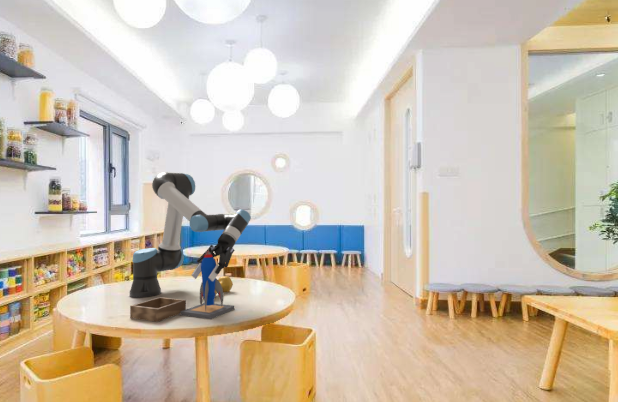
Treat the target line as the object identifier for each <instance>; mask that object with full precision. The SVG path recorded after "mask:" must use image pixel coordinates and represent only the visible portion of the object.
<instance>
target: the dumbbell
mask: <svg viewBox="0 0 618 402" xmlns="http://www.w3.org/2000/svg"><path fill="white" fill-rule="evenodd" d="M217 280H218V281H219V282H220V284H221V286H222V289H223V293H229V292H230V291H231V290H232V288H233V285H234V284H233V280H232V278H231V277H230V276H229V275H228V276H227V275H223V276H220V277H219V278H217ZM217 295H218V293H217V291H216V290H215V297H216V296H217ZM203 297H204V296H203Z"/></svg>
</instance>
